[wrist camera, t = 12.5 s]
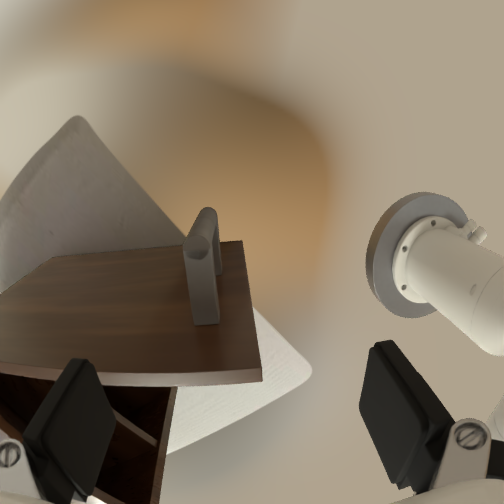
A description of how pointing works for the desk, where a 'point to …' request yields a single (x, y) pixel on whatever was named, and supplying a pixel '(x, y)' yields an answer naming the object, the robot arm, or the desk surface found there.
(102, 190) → the desk surface
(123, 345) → the door
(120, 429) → the cupboard
